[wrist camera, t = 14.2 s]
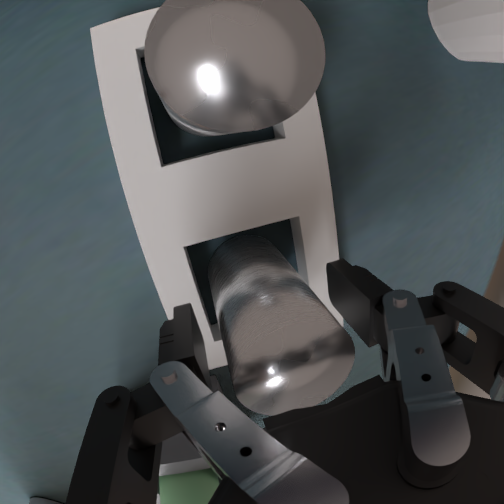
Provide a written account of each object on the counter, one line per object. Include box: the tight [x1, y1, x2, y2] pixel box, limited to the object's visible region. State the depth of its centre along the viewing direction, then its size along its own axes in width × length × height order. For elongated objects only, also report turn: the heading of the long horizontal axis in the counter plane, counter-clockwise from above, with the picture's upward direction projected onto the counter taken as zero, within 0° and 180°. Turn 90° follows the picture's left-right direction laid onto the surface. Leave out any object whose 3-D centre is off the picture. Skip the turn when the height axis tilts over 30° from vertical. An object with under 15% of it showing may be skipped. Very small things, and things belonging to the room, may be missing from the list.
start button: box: [159, 468, 219, 504], centre depth 14 cm, size 4×4×6 cm
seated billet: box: [144, 0, 325, 137], centre depth 9 cm, size 4×4×8 cm
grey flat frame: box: [90, 7, 343, 370], centre depth 14 cm, size 18×9×2 cm, turn 11°
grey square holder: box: [156, 375, 224, 504], centre depth 16 cm, size 7×7×6 cm
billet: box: [208, 235, 355, 416], centre depth 13 cm, size 4×4×8 cm
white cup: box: [428, 0, 504, 63], centre depth 10 cm, size 7×7×7 cm
